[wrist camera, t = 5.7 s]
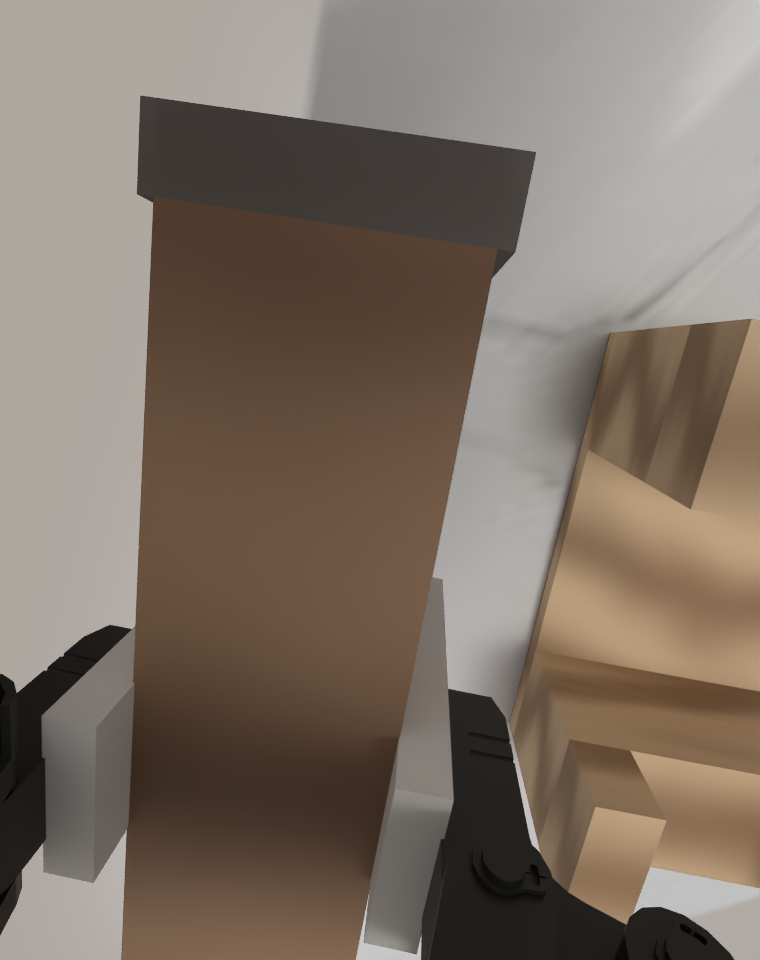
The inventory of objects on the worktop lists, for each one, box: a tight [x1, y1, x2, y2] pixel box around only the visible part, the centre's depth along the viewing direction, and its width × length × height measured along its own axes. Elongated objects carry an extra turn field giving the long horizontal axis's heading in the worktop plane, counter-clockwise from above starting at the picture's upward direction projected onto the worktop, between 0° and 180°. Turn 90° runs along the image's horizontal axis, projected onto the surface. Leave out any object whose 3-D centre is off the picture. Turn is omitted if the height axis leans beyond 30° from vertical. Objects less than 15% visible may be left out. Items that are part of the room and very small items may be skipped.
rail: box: [121, 96, 536, 960], centre depth 11 cm, size 18×4×6 cm, turn 171°
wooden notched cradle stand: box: [510, 319, 760, 925], centre depth 20 cm, size 20×11×10 cm, turn 171°
